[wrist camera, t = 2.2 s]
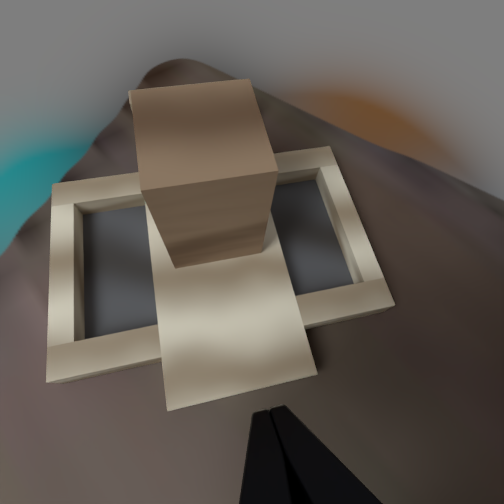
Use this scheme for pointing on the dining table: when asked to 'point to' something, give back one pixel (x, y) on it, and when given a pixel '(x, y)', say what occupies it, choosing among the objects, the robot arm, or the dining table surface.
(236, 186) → the walnut block
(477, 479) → the dining table surface
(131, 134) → the dining table surface
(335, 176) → the board
